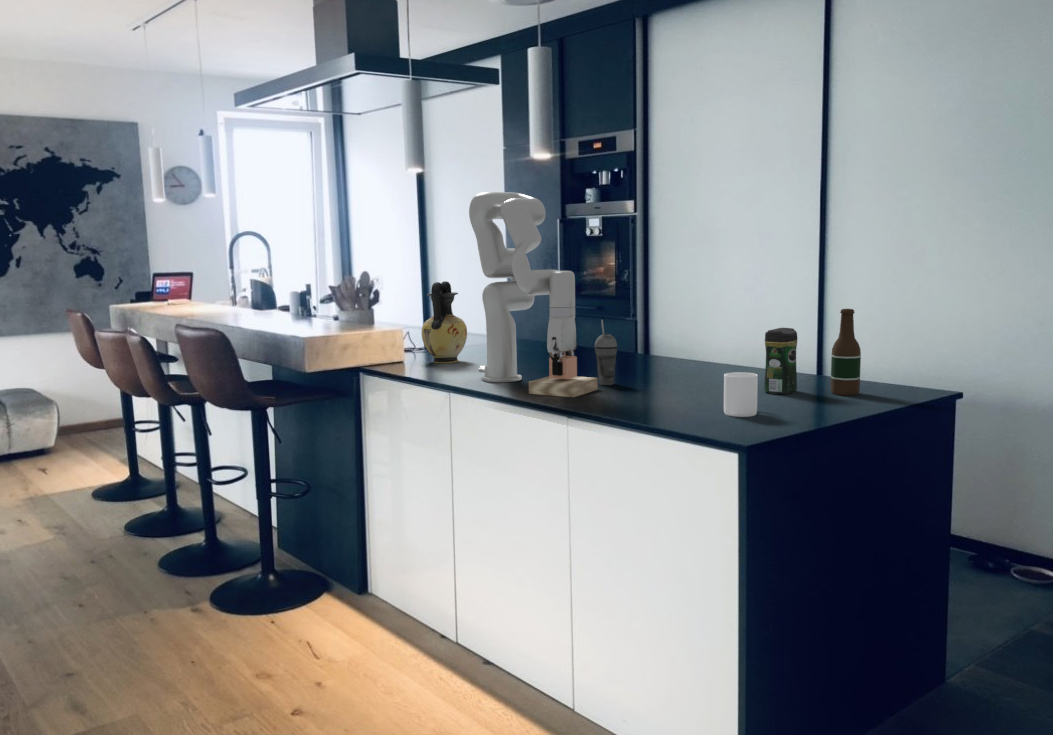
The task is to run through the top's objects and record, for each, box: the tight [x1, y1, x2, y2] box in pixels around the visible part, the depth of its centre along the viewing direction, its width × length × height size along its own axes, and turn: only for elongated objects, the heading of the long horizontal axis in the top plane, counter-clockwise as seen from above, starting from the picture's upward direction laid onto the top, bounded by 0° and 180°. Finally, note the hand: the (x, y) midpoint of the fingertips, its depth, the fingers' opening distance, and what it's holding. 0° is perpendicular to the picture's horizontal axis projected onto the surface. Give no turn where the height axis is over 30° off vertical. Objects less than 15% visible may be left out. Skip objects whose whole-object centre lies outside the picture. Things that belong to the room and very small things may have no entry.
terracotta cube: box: [548, 354, 578, 379], centre depth 274 cm, size 6×6×6 cm
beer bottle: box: [830, 308, 862, 397], centre depth 260 cm, size 8×8×24 cm
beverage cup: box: [593, 319, 618, 386], centre depth 286 cm, size 7×7×20 cm
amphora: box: [421, 281, 468, 364], centre depth 344 cm, size 18×17×30 cm
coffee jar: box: [763, 327, 798, 395], centre depth 265 cm, size 10×8×19 cm
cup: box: [723, 371, 759, 418], centre depth 236 cm, size 8×12×10 cm
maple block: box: [528, 375, 599, 398], centre depth 275 cm, size 15×15×4 cm
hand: (563, 373), depth 274 cm, fingers closed on terracotta cube, 5 cm apart
